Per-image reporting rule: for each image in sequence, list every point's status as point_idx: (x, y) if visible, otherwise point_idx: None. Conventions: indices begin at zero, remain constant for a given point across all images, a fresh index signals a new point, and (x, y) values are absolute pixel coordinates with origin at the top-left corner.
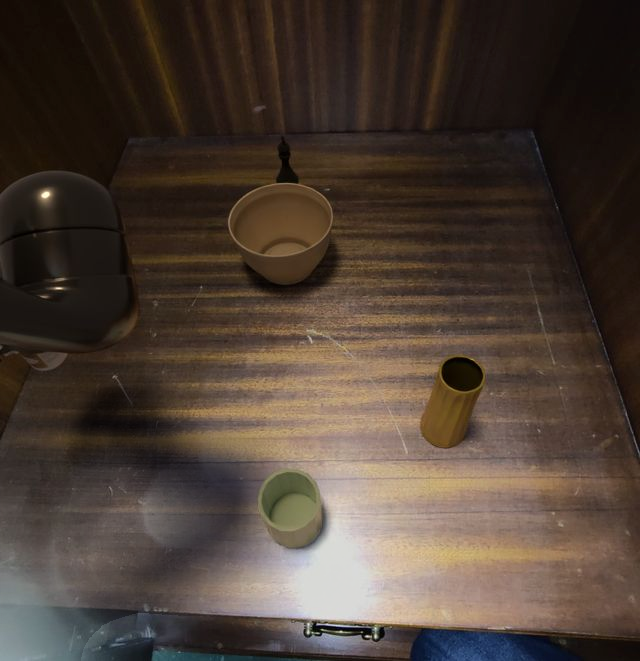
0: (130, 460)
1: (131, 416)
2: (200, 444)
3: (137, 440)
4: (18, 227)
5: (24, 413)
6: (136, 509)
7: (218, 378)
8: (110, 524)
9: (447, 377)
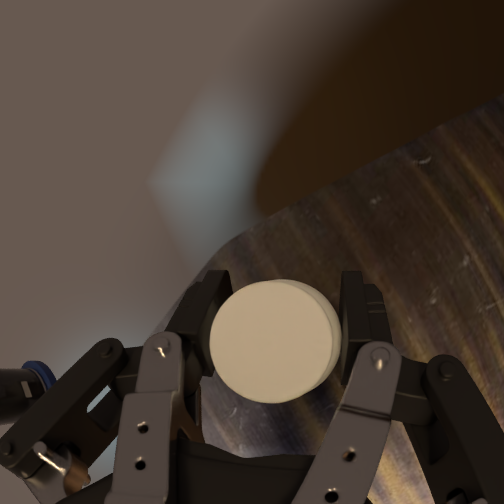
0: (273, 409)
1: None
2: None
3: (298, 400)
4: None
5: (252, 241)
6: (231, 447)
7: None
8: (205, 432)
9: None
